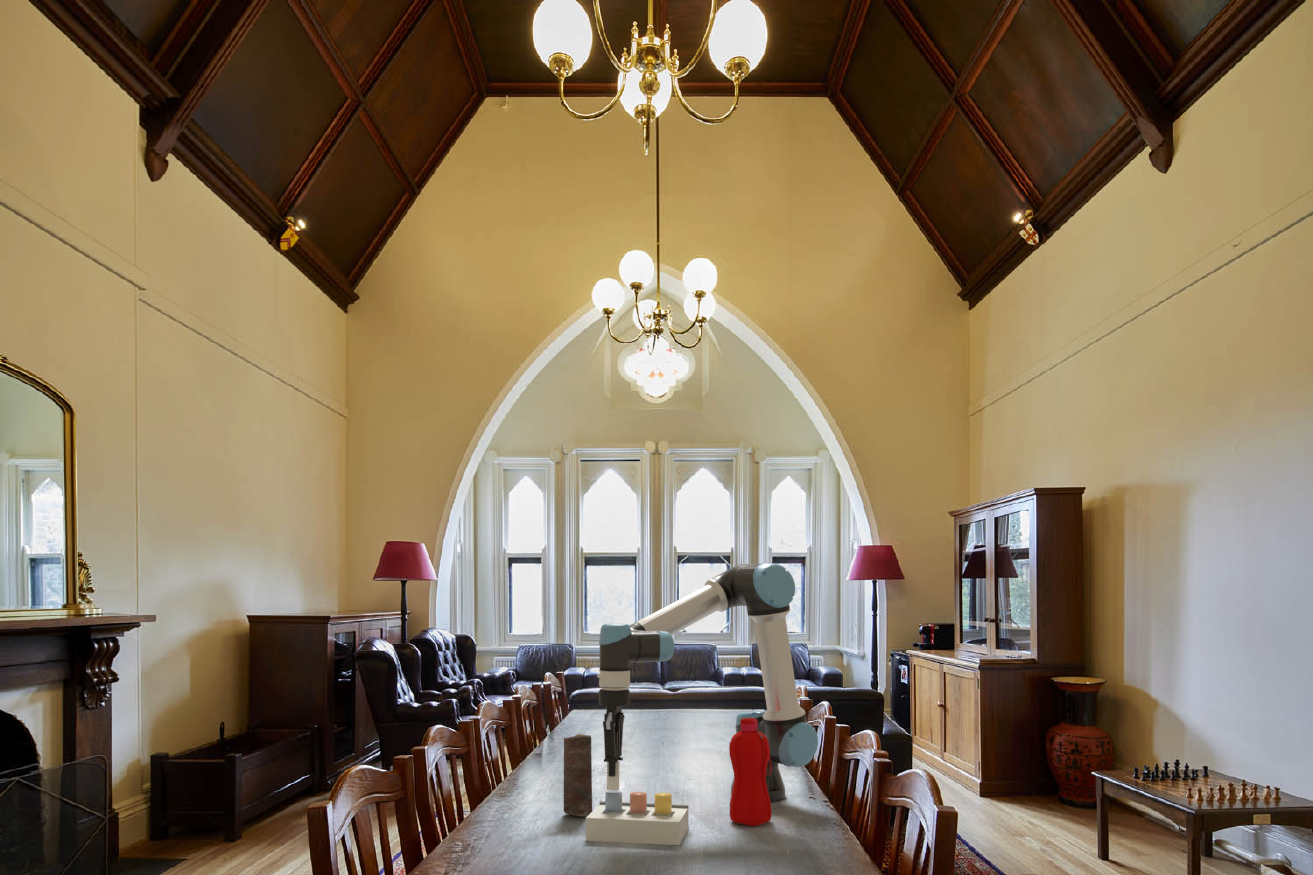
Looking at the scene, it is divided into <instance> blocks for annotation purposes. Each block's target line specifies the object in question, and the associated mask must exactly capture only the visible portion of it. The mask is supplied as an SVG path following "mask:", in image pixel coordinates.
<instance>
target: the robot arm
mask: <svg viewBox="0 0 1313 875" xmlns="http://www.w3.org/2000/svg"><path fill="white" fill-rule="evenodd" d="M795 595H796V584H795V580H794V578H793V575H792V574H791V572H790V571H789V570H788V569H787V568H785V567H784V566H783V565H781V564H779V563H778V564H777V563H770V562H764V563H763V562H762V563H743V564H738V565H735V566H733V567H731V568H729V569H727V570H725V571H723V572H721V573H719V574H718V575H715V576H713V577H712V578H710V579H708V580H707V581H706V582H705V583H704V586H702V587H701V588H699V589H696V590H695V591H693V592H691V593H689V594H687V595H685V596H683V597H682V598H679V599H678V600H675V601H674V602H671V603H670V604H668V605H667V606H664V607H663V608H661V609H659V610H657V611H655V612H653V613H651V614H649V615H647V616H645V617H643V618H641V619H640V620H638V621H636V622H633V623H632V624H629V623H604V624H603V625H602V626H601V627H600V632H599V642H598V643H599V673H597V675H596V677H597V679H598V678H599V680H598V686H599V687H600V689H599V690H598V704H599V705H600V706H603V707H606V711H605V713H604V716H603V717H604V718H603V719H604V720H603V722H602V726H603V727H602V728H603V738H604V739H603V740H604V759H603V762H604V763H606V791H620V761H621V762H622V761H623V760H624V757H622V754H623V753H622V752H623V751H622V750H623V736H624V723H625V722H624V721H625V714H624V712H622V711H623V710H622V707H626V706H628V705H629V704H630V697H631V694H630V693H631V690H630V689H628V688H630V687H631V663H634V664H635V663H660V662H667V661H669V660H671V658H672V657H673V656H674V652H675V641H674V638H673V635H675V634H677V633H679V632H681V631H682V630H684V629H686V628H687V627H690V626H692V625H694V624H696V623H697V622H699V621H702V620H703V619H704V618H706V617H708V616H710V615H712V614H714V613H715V612H719V613H722V612H723V613H724V612H725V611H727V610H729V609H731V608H732V609H733V608H734V607H735V608H736V607H742V606H743V607H746V612H747V617H749V618H750V619H751V620H752V621H753V622H754V628H755V635H756V642H757V643H756V644H757V649H758V657H759V662H760V669H761V671H760V672H761V677H762V682H763V689H764V697H765V703H766V710H753V711H745V712H744V711H743V712H739V713H738V714H737V716H736V721H735V722H736V723H735V732H736V733H738V732H739V731H740V730H741V723H740V722H741V719H743V718H754V719H757V720H758V731H759V732H761V733H762V734H764V735H765V737H766V738H767V739H768V743H769V748H770V754H769V755H770V760H771V774H770V760H769V759H768V765H767V770H766V772H767V774H768V775H767V774H766V785H767V789H768V793H769V798H770V802H777V801H780V800H783V799H785V798H786V787H785V784H784V781H783V777H782V775H781V774H782V773H781V771H780V768H779V764H780V765H784V766H786V767H790V768H791V767H793V768H801V767H802V768H803V767H804V766H806V765H808V764H809V763H811V760H813V758H814V755H815V754H816V753H817V751H818V746H819V736H818V733H817V730H816V729H815V727H813V726H812V725H811V724H810V723H808V721H807V714H806V711H805V709H804V708H803V707H801V706H800V705H799V700H798V699H799V698H798V694H797V686H796V678H795V674H794V672H795V671H794V666H793V659H792V651H791V645H790V640H789V638H790V637H789V633H788V632H789V631H788V626H787V619H786V618H787V615H789V613H790V612H791V607H790V604H791V603H792V602H793V599H794V598H793V597H794V596H795ZM736 733H735V734H736ZM769 774H770V775H769ZM733 784H734V778H732V782H731V785H730V786H731V787H730V796H731V795H732V789H733Z"/></svg>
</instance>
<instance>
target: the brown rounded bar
mask: <svg viewBox="0 0 1313 875" xmlns="http://www.w3.org/2000/svg"><path fill="white" fill-rule="evenodd" d="M592 762H593V761H592V735H587V734H575V735H574V736H568V737H563V812H564V813H565V815H570V816H577V817H584V818H586V817H587V816H588V815H589V814H590V813H591V812H592V811H593V781H592V780H593V779H592V778H593V777H592V774H593V773H592Z"/></svg>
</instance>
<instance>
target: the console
mask: <svg viewBox="0 0 1313 875" xmlns="http://www.w3.org/2000/svg"><path fill="white" fill-rule="evenodd" d="M689 820H690V819H689V804H672V813H670V814H656V813H655V803H650V802H649V803H648V802H647V812H645V813H631V812H630V801H628V802H626V801H624V802H623V801H622V811H620V812H607V811H605V801H604V800H603V801H599V805H598V806H597V807H595V808H594V809H592V812H591V813H590V814H589V815H588V816H587V817H585V841H586V842H587V841H588V842H607V843H608V842H609V843H623V844H624V843H626V844H646V845H647V844H648V845H667V846H669V845H670V846H681V844H682V842H683V840H684V838H685V836H686V835H687V833H688V831H689V827H690V826H689V825H690V824H689Z"/></svg>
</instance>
